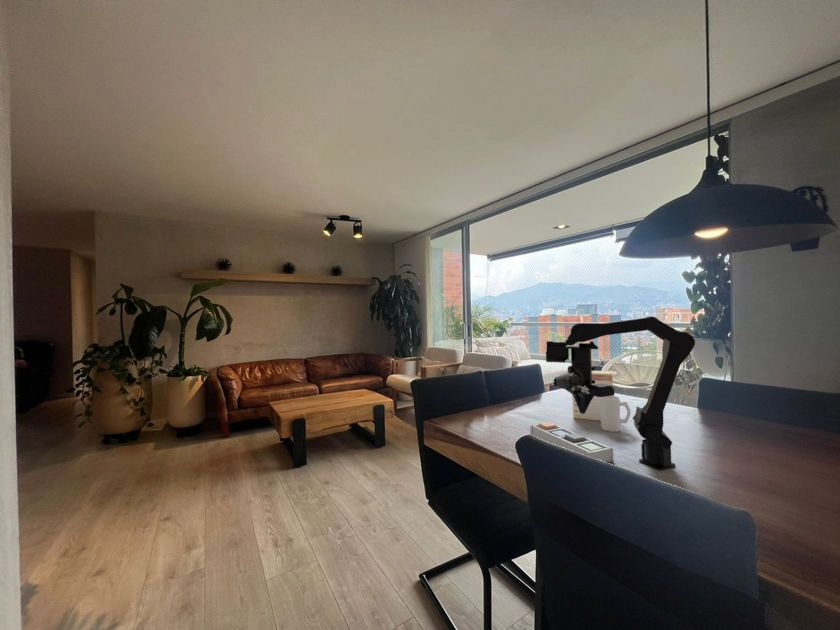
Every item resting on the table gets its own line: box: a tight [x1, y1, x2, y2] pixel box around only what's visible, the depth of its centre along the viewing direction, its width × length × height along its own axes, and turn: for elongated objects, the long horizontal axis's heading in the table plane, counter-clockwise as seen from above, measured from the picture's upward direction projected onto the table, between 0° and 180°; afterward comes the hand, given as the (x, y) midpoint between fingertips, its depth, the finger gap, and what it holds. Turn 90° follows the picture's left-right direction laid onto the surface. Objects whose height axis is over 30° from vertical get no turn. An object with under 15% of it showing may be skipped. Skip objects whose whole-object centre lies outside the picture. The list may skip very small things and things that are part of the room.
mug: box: [599, 395, 631, 433], centre depth 129 cm, size 10×7×12 cm, turn 60°
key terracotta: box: [538, 421, 557, 431], centre depth 123 cm, size 4×4×2 cm
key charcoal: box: [565, 432, 586, 444], centre depth 110 cm, size 4×4×2 cm
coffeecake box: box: [571, 370, 614, 422], centre depth 143 cm, size 15×7×20 cm, turn 59°
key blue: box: [551, 430, 569, 437], centre depth 116 cm, size 4×4×2 cm
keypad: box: [529, 421, 614, 463], centre depth 113 cm, size 27×9×4 cm, turn 19°
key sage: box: [580, 443, 602, 451], centre depth 104 cm, size 4×4×2 cm
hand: (582, 413), depth 107 cm, fingers closed
